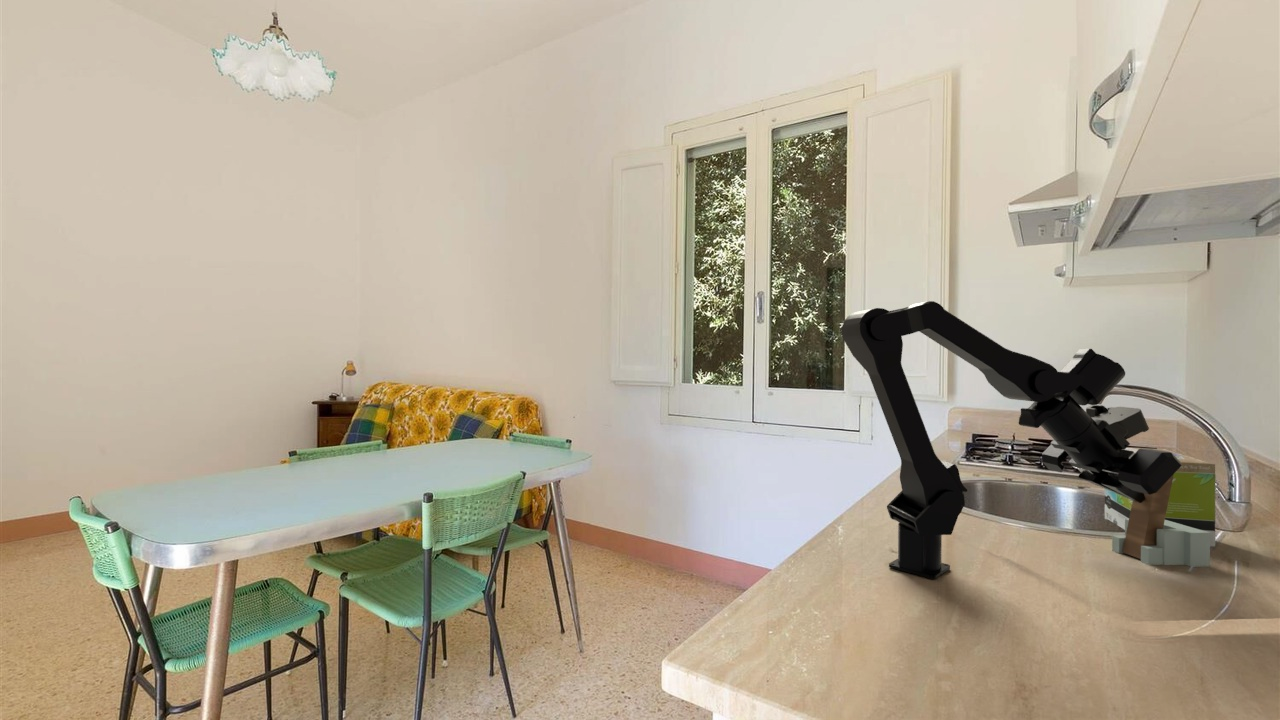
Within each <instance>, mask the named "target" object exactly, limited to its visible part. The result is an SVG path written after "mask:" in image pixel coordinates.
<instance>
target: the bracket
mask: <svg viewBox="0 0 1280 720" xmlns="http://www.w3.org/2000/svg"><path fill="white" fill-rule="evenodd" d="M1128 522H1129V519H1125V530H1124V535H1112V536H1111V537H1112V538H1111V539H1112V540H1111V541H1112V542H1111V543H1112V544H1111V545H1112V546H1111V550H1112V552H1113V553H1116V554H1124V553H1123V547H1124V542H1125V537H1126V532H1127V527H1128ZM1140 563H1143V564H1145V565H1149V566H1155V565H1164V566H1183V565H1185V566H1188V567H1193V568H1195V567H1198V568H1199V567H1211V546H1210V532H1206V531H1203V530H1199V529H1196V528H1192V527H1189V526H1185V525H1182V524H1179V523H1175V522H1172V521H1168V520H1165V521H1164V526H1163V529H1157V546H1141V559H1140Z"/></svg>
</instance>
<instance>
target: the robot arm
mask: <svg viewBox="0 0 1280 720" xmlns="http://www.w3.org/2000/svg"><path fill="white" fill-rule="evenodd" d="M840 328H841V329H840V333H841V337H842V339H843V341H844V343H845V344H846V346H847V348H848V350H849V351H850V353H851V355H852V357H853V358H854V359H855V360H856V361H857V362H858V363H859V365H861V366H862V367H863V369H864V370H865V371H866V372H867V374H868V377H869V379H870V382H871V384H872V386H873V389H874V392H875V395H876V397H877V400H878V402H879V405H880V408H881V410H882V414H883V416H884V418H885V419H884V420H885V421H886V424H887V426H888V428H889V431H890V434H891V437H892V439H893V442H894V444H895V447H896V450H897V452H898V455H899V458H900V462H901V463H900V471H899V472H900V473H899V480H900V486H901V491H900V492H899V493H898V494H896V496H895V497H894V498H893V499H892V500H891V501H890V502H889V503H888V504H887V505H886V509H887V513H888V515H889V518H890V519H891V520H893V521H896V522H898V524H897V525H898V526H897V527H898V529H897V533H898V534H897V535H898V537H897V539H898V541H897V544H898V545H897V555H898V556H897V558H896V559H894V560H892V561H891V562H890V563H888V567H889V568H890V569H894V570H898V571H902V572H905V573H909V574H913V575H917V576H920V577H925V578H927V579H928V578H929V579H934V580H935V579H938V578H939V577H940V576H942V575H943V574H944V573H946V572H947V571H949V570H950V569H951V565H950V564H948V563H943V562H942V536H951V535H952V534H953V531H954V530H955V529H954V528H955V527H956V526H955V525H956V523H957V520H958V517H959V515H960V514H961V513H962V511H963V509H964V507H965V506H966V498H965V494H964V493H967V492H968V489H967V488H966V487H965V486H964V484H963V483H962V479H961V477H960V471H959V468H958V466H957V465H956V464H954V463H952V462H948V461H945V460H942V459H939V457H938V456H937V454H936V452H935V449H934V448H933V445H932V441H931V439H930V437H929V434H928V431H927V429H926V426H925V424H924V421H923V418H922V416H921V413H920V410H919V408H918V404H917V403H916V400H915V398H914V395H913V392H912V389H911V386H910V384H909V382H908V379H907V377H906V374H905V371H904V368H903V365H902V356H903V346H904V343H903V342H904V341H903V338H902V337H904V336H908V335H911V334H914V333H918V332H919V333H921V334H922V335H925V336H926V337H928V339H931V340H932V341H933V342H935V343H936V344H938V345H940V346H942V347H943V348H944V349H946V350H948V351H950V352H951V353H953V354H954V355H955V356H957V357H959V358H961V359H962V360H964V361H965V362H966V363H968V364H970V365H971V366H973V367H974V368H976V369H978V370H979V371H980V372H981V373H982V374H983V375H984V377H985V379H986V381H987V382H988V384H989V385H990V386H991V387H993V388H994V389H995V390H996V391H997V393H999V394H1000V395H1001V396H1003V398H1007V399H1009V400H1017V401H1027V402H1033V403H1032V404H1031V405H1029V407H1027V408H1025V407H1022V408H1020V415H1019V417H1018V425H1019V426H1020V427H1021V426H1022V427H1027V428H1035V429H1039V428H1040V427H1042V428H1043V430H1044V431H1045V432H1046V433H1047V434H1048V435H1049V436H1050V438H1051V439H1052V441H1051V442H1050V443H1049V444H1050V445H1049V446H1048V447H1047V448H1046V449H1045V450H1044V451H1043V452H1042V453H1041V463H1042V464H1044V466H1045V467H1046V468H1048V470H1050V471H1054V472H1058V473H1063V472H1064V470H1065V467H1064V465H1063V464H1062V463H1063V461H1064V460H1066V459H1068V460H1069V461H1068V463H1069V465H1071V467H1072V468H1074V469H1077V470H1078V471H1079V472H1080V473H1079V474H1078V478H1079V479H1080V480H1082V481H1085V482H1088V483H1091V484H1093V485H1095V486H1098V487H1100V488H1102V489H1104V490H1105V489H1107V490H1109V491H1112V492H1114V493H1116V494H1119V495H1121V496H1123V497H1126V498H1128V499H1130V500H1133V501H1135V502H1138V503H1142V502H1143V501H1144V499H1145V496H1144V493H1145V494H1149V495H1150V494H1153V493H1156V492H1157V491H1158V490H1159V489H1160V488H1161V487H1162V486H1163V485H1164V484H1165V483H1166V482H1167V481H1168V480H1169V479H1170V477H1171V476H1172V475H1173V474H1174V473H1175V472H1176V471H1177V470H1178V469H1179V468H1180V467H1181V466H1182V465H1181V463H1180V461H1179V460H1178V459H1177V458H1176V457H1175V456H1174V455H1173V454H1172V453H1171V452H1166V451H1160V450H1154V449H1155V448H1151V449H1139V450H1138V451H1137V452H1136V453H1134V452H1133V451H1129V450H1123V449H1126V448H1129V446H1130V445H1131V443H1130V442H1129V440H1128V439H1130V438H1133V437H1135V436H1137V435H1139V434H1140V433H1145V432H1148V431H1149V430H1150V427H1149V425H1148V422H1147V421H1146V418H1145V416H1144V414H1143V411H1142V410H1141V408H1139V407H1136V408H1135V407H1126V406H1115V407H1114V406H1113V407H1112V406H1109V407H1106V406H1105V405H1102V404H1100V403H1101V402H1102V401H1103V400H1104V399H1105V398H1106V397H1107V395H1108V394H1110V393H1111V391H1113V389H1114V388H1115V387H1116V386H1117V385H1118V384H1119V383H1120V382H1121V381H1122V380H1123V379H1124V378H1125V376H1126V371H1125V369H1124V368H1123V366H1122V365H1121V364H1120V363H1119V362H1116V361H1114V360H1112V359H1110V357H1107V356H1105V355H1102V354H1099V353H1096V351H1094V350H1093V348H1079V349H1078V351H1076V352H1075V353H1074V355H1073V357H1072V358H1071V360H1069V361H1068V363H1067V364H1066V365H1064V367H1063V368H1062V369H1060V371H1058V370H1057V369H1056V368H1055V367H1054V365H1052V364H1050V363H1049V362H1045V361H1042V360H1041V359H1038V358H1035V357H1034V356H1031V355H1026V354H1024V353H1023V354H1022V353H1021V352H1016V351H1013V350H1010V349H1008V348H1006V347H1003V345H1001V344H1000V343H998V342H996V341H995V340H993V339H992V338H990V337H989V336H987V335H986V334H984V333H982V332H980V331H979V330H978V329H975V328H974V327H973V326H971V325H970V324H968V323H967V322H965V321H963V320H961V319H960V318H959V317H957V316H955V315H954V314H952V313H951V312H949V311H948V310H946V309H945V308H944V307H943V305H941V304H940V303H938V302H936V301H933V300H931V301H930V300H929V301H928V300H927V301H922V302H917V303H913V304H911V305H909V306H906V307H901V308H898V309H893V310H887V309H886V308H880V307H875V308H869V309H864V310H859V311H854V312H852V313H850V314H848V316H847V317H846V318H845V319H844V322H843V324H842V325H841V327H840ZM1087 405H1088V407H1086V408H1085V409H1084V408H1083V407H1082V406H1087ZM1089 405H1090V406H1089Z"/></svg>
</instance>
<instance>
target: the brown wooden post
mask: <svg viewBox="0 0 1280 720" xmlns="http://www.w3.org/2000/svg"><path fill="white" fill-rule="evenodd" d="M1173 475H1174V474H1173ZM1173 475H1172V476H1171V477H1170V479H1169V480H1168V481H1167V482H1166V483H1165V484H1164V485H1163V486H1162V487H1161V488H1160V489H1159V490H1158V491H1157V492H1156V493H1153V494H1150V495H1149V494H1145V493H1144V496H1145V499H1144V501H1143V502H1142V503H1138V502H1135V501H1133V502H1132V507H1131V512H1130V517H1129V522H1128V527H1127V532H1126V537H1125V542H1124V547H1123V554H1125V555H1128V556H1132V557H1134V558H1136V559H1139V560H1141V546H1157V529H1163V526H1164V521H1165V516H1166V511H1167V506H1168V501H1169V496H1170V491H1171V486H1172V481H1173Z"/></svg>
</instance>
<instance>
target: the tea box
mask: <svg viewBox="0 0 1280 720" xmlns="http://www.w3.org/2000/svg"><path fill="white" fill-rule="evenodd" d="M1139 449H1152V448H1149V447H1148V448H1147V447H1146V448H1145V447H1127V448H1126V449H1123V450H1129V451H1133V452H1134V453H1136V452H1137V451H1138V450H1139ZM1153 449H1154V450H1160V451H1166V452H1171V453H1172V454H1173V455H1174V456H1175V457H1176V458H1177V459H1178V460H1179V461H1180V463H1181V465H1182V466H1181V467H1180V468H1179V469H1178V470H1177V471H1176V472H1175V473H1174V475H1173V481H1172V486H1171V491H1170V496H1169V501H1168V506H1167V511H1166V516H1165V520H1168V521H1172V522H1175V523H1179V524H1182V525H1185V526H1189V527H1192V528H1196V529H1199V530H1203V531H1206V532H1210V547H1216V464H1215V463H1212V462H1209V461H1207V460H1204V459H1200V458H1197V457H1193V456H1190V455H1187V454H1184V453H1180V452H1177V451H1173V450H1170V449H1167V448H1166V449H1164V448H1153ZM1132 502H1133V500H1130V499H1128V498H1126V497H1123V496H1121V495H1119V494H1116V493H1114V492H1112V491H1109V490H1107V489H1105V488H1104V520H1109V522H1111V523H1113V524H1114V525H1116V526H1118V527H1120V528H1121V529H1122V530H1124V531H1125V519H1129V517H1130V512H1131V507H1132Z"/></svg>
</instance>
